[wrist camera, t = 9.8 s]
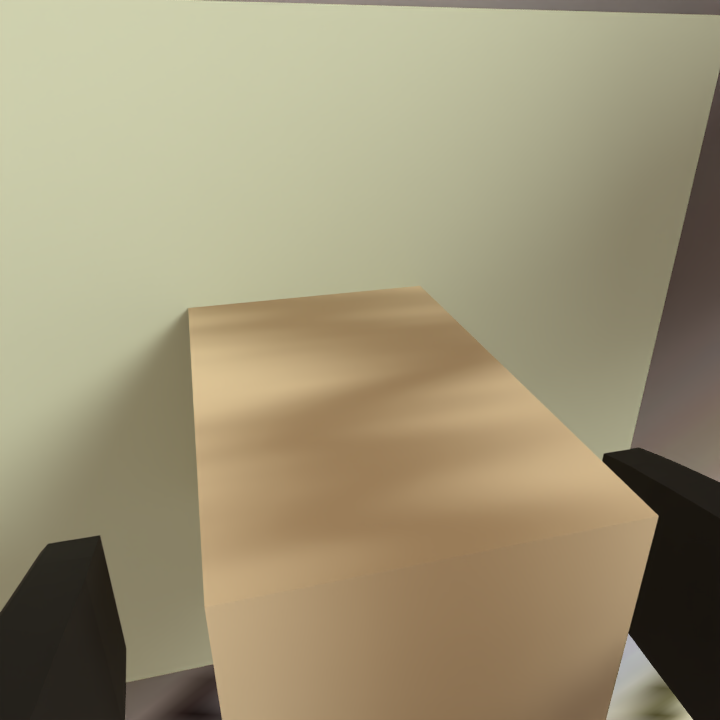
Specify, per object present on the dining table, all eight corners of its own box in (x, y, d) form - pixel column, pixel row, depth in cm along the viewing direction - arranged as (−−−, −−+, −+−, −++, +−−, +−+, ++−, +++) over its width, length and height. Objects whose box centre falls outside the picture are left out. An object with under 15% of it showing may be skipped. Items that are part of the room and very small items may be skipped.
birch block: (419, 285, 12) (658, 515, 6) (413, 470, 14) (589, 782, 8) (187, 308, 11) (204, 607, 5) (214, 503, 13) (248, 886, 7)
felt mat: (708, 16, 12) (732, 15, 12) (586, 567, 18) (598, 582, 18) (-304, -12, 8) (-336, -15, 8) (-28, 692, 15) (-36, 716, 14)
